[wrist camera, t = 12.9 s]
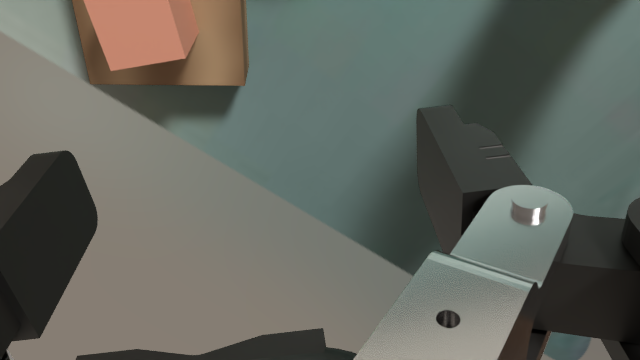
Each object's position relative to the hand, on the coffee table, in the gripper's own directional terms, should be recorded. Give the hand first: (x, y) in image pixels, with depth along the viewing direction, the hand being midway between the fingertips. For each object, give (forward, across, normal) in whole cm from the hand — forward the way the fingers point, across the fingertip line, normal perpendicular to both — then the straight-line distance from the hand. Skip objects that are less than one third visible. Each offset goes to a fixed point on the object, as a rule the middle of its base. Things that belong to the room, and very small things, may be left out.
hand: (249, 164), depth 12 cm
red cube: (+28, +9, +2) cm, 30 cm away
